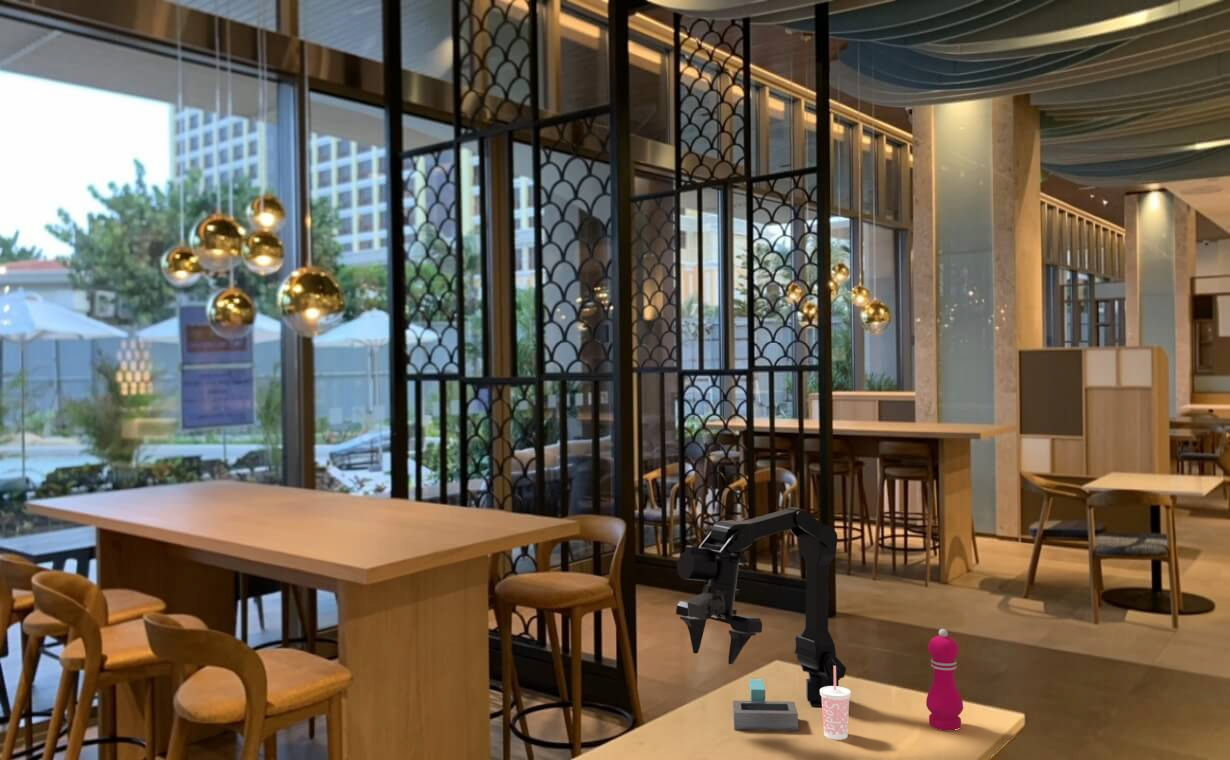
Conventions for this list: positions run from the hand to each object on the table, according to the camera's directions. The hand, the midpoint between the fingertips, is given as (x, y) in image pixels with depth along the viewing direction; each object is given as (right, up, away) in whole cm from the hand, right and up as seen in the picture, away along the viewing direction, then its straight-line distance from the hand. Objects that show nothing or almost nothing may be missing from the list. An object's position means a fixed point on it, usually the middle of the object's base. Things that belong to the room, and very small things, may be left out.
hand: (712, 658), depth 188 cm
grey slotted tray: (+11, -15, +3) cm, 19 cm away
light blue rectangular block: (+11, -15, +12) cm, 22 cm away
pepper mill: (+48, -14, 0) cm, 50 cm away
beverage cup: (+24, -15, -4) cm, 29 cm away
